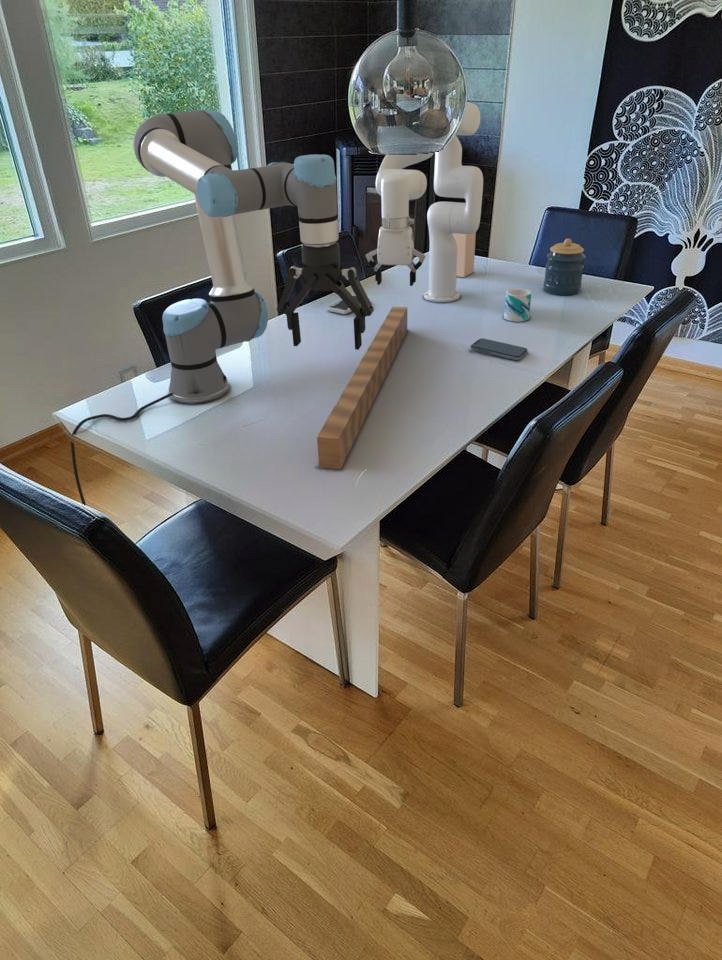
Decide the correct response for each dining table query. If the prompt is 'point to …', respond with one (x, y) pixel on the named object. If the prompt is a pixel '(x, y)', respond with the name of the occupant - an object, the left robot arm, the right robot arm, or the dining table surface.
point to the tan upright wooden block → (465, 253)
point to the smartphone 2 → (499, 349)
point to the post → (360, 392)
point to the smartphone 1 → (341, 307)
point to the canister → (564, 268)
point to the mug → (517, 304)
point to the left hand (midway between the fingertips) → (327, 345)
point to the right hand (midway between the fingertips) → (395, 284)
